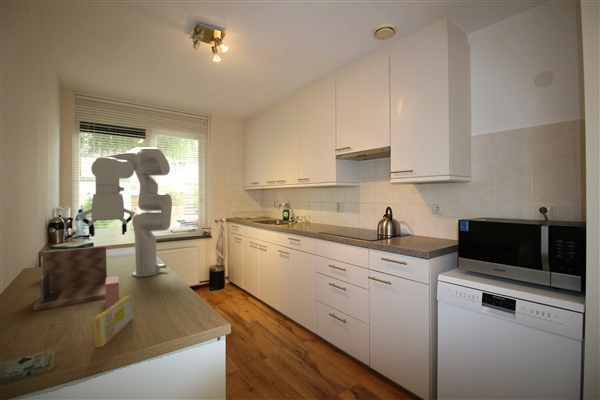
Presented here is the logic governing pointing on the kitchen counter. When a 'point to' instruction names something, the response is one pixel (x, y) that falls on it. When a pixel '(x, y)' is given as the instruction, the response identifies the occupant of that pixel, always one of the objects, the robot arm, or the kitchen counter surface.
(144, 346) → the kitchen counter surface
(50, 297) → the bookend
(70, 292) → the shelf
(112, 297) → the book
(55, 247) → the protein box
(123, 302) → the candy box
